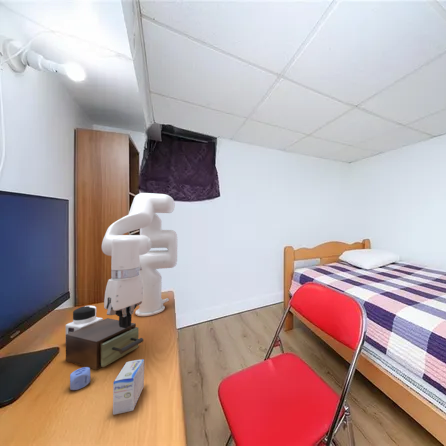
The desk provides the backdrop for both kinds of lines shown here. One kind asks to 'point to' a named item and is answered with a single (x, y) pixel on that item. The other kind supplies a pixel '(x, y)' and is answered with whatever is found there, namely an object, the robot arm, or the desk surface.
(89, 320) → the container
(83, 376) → the decorative dice
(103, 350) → the drawer
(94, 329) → the cabinet
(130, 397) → the medicine box
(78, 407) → the desk surface
